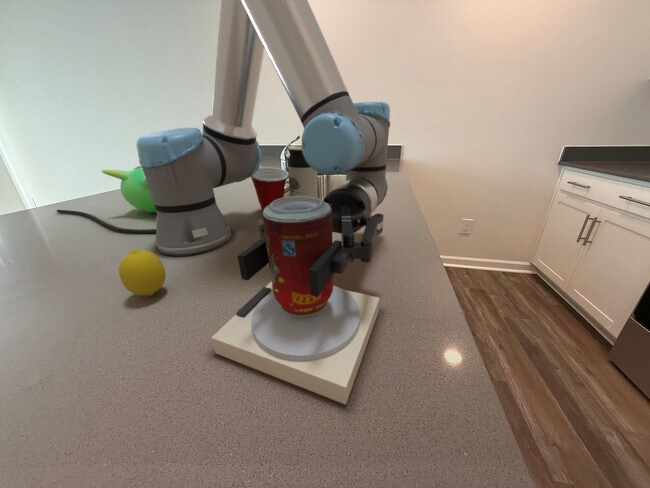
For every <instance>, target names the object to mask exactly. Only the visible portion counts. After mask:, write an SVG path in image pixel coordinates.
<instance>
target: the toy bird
mask: <svg viewBox="0 0 650 488" xmlns="http://www.w3.org/2000/svg"><path fill="white" fill-rule="evenodd" d="M101 173H102V174H105V175H107V176H110V177H112V178H115V179H119V180H121V181H120V187H119V188H120V192H121V195H122V197H123V198H124V199H125V201H126V202H127V203H128V204H129V205H131V206H132V207H134V208H136V209H137V210H140V211H142V212H143V211H144V212H148V213H157V212H156V208H155V205H154V202H153V199H152V196H151V193H150V190H149V187H148V184H147V181H146V177H145V174H144V171H143V168H142V166H141V165H139V166H136V167H134V168H131V169H130V170H121V169H102V170H101Z"/></svg>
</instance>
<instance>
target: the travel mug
mask: <svg viewBox="0 0 650 488" xmlns="http://www.w3.org/2000/svg"><path fill="white" fill-rule="evenodd" d="M287 149H288V151H289V156H288V159H287V168H288V174H289V176H288V185H289V196H311V197H316V198H319V195H318V194H319V193H318V191H319V189H318V187H319V186H318V172H317V171H315V170H314V169H313V168H311V167H310V166H309V164H308V163H307V162H306V160H305V158H304V156H303V153H302V145H291V146H290V145H289V146H288V147H287Z"/></svg>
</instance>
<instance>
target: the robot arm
mask: <svg viewBox="0 0 650 488" xmlns="http://www.w3.org/2000/svg"><path fill="white" fill-rule="evenodd" d="M265 53H267V56H268V58H269V60H270V62H271V63H272V66H273V67H274V70H275V72H276V74H277V75H278V78H279V80H280V82H281V84H282V86H283V87H284V90H285V92H286V94H287V96H288V98H289V100H290V102H291V104H292V106H293V108H294V111H295V112H296V114H297V116H298V118H299V120H300V123H301V125H302V127H303V132H302V134H301V146H302V153H303V156H304V158H305V160H306V162H307V163H308V164H309V166H310V167H311V168H313V169H314V170H315V171H317V173H318V174H321V175H325V176H333V175H334V176H335V175H338V174H343V173H345V182H343V183H341V184H339V185H338V186H337V187H336V188H334V189H333V190H331V191H329V192H328V193H327V194H326V195H325V197H324V199H323V200H322V201H324V202H326V203H327V204H329V206H330V207H331V209H332V233H336V234H340V237H341V240H337V239H335V240H334V241H332V244H331V246H330V247H329V248H328V249H327V250H326V251H325V252H324V253H323V254H322V256H321V257H320V258H319V259H318V260H317V261H316V262H315V263H314V265H313V266H312V267H311V268H310V269H309V279H310V294H311V295H312V296H316V297H318V296H319V295H320V293H321V292H322V291H323V289H324V288H325V286H326V285H327V284H328V282H329V281H330V279H331V278H332V276H333V277H334V275H335V274H338V275H341V274H344V273H345V271H346V270H347V268H348V267H349V265H350V264H351V263H353V262H354V261H355V260H360V261H359V262H361V263H364V264H367V263H370V262H371V261H372V258H373V254H374V250H375V246H376V241H377V237H378V236H379V235H381V234H382V233H383V227H384V217H385V216H384V214H383V213H375V214H373V213H374V212H375V211H376V210H377V208H378V206H380V205H381V204H382V203H383V201H384V200H385V198H386V196H387V192H388V186H389V185H388V180H387V178H386V175H387V156H388V146H389V134H390V127H391V120H390V119H391V118H390V115H391V113H390V112H391V108H390V105H389V103H387V102H385V101H361V102H360V101H359V102H353V99H352V98H351V96H350V93H349V90H348V88H347V85H346V83H345V81H344V79H343V77H342V75H341V72H340V69H339V68H338V65H337V63H336V60H335V59H334V57H333V54H332V52H331V50H330V47H329V45H328V43H327V40H326V38H325V36H324V33H323V32H322V29H321V27H320V25H319V22H318V20H317V18H316V15H315V14H314V11H313V9H312V7H311V5H310V3H309V0H220V12H219V24H218V35H217V46H216V58H215V68H214V69H215V71H214V80H213V81H214V82H213V93H212V104H211V105H212V106H211V113H210V114H209V115H207V116H206V117H204V118H203V121H202V132H201V129H199V128H198V127H180V128H173V129H166V130H159V131H154V132H149V133H146V134H142V135H141V136H140V137H139V138H137V140H136V143H135V147H136V151H137V155H138V162H139V166H142V168H143V171H144V174H145V177H146V181H147V184H148V187H149V190H150V193H151V196H152V199H153V202H154V205H155V208H156V212H155V213H156V228H148V229H135V228H123V227H118V226H115V225H112V224H110V223H108V222H106V221H104V220H102V219H101V218H98V217H97V216H95V215H94V214H93V215H92V214H90V213H87V212H83V211H78V210H69V209H57V210H56V212H57V213H59V214H70V215H72V214H73V215H79V216H84V217H87V218H90V219H92V220H93V221H95V222H97V223H98V224H100V225H102V226H104V227H106V228H108V229H111V230H113V231H116V232H120V233H126V234H127V233H128V234H156V235H155V245H156V247H157V249H158V251H159V252H160V253H161V254H163V255H168V256H175V257H179V256H181V257H183V256H192V255H197V254H203V253H206V252H209V251H211V250H215V249H217V248H220V247H221V246H223V245H225V244H226V243H227V242H228V241H229V240H230V239H231V237H232V232H231V227H230V225H229V223H228V222H227V221H226V219H225V217H224V214H223V213H222V212H221V209H220V208H219V207H218V204H217V201H216V196H215V191H214V189H216V188H219V187H224V186H227V185H230V184H234V183H240V182H244V181H246V180H247V179H249V178H251V176H253V175H254V174H255V173H256V172H257V171H258V169H259V168H261V164H262V157H263V155H262V149H261V148H260V143H259V141H258V139H257V136H258V134H257V132H256V129H255V128H254V127H253V125H252V124H253V118H254V114H255V108H256V107H255V106H256V103H257V101H256V100H257V96H258V91H259V90H258V89H259V84H260V78H261V73H262V67H263V60H264V55H265ZM362 228H364V231H363V234H362V236H361V239H360V242H355V233H358V231H359V232H360V230H361V229H362ZM258 229H259V235H260V238H259V239H258V240H256V241H255V242H253V243H252V244H251V246H249V247H248V248H246V249H245V250H243V251H241V252H240V253H238V254H237V255H236V256H237V260H238V267H239V271H240V276H241V280H243V281H250V279H252V278H253V277H254V276H255V275H256V274H257V273H259V272H260V271H261V270H262V269H264V268H266V266H268V265H269V259H268V253H267V245H266V238H265V232H264V224H263V223H262V224H260V225H259V227H258Z"/></svg>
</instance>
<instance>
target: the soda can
mask: <svg viewBox="0 0 650 488" xmlns="http://www.w3.org/2000/svg"><path fill="white" fill-rule="evenodd" d="M261 213H262V214H261V215H262V224H264V232H265V238H266V245H267V253H268V259H269V263H268V265H269V272H270V280H271V281H272V288H273V294H274V297H275V299H276V300H277V301H278V303H279V304H280V305H281V307H282V309H283V310H284V311H285V312H286V313H288V314H290V315H293V316H302V317H305V316H311V315H314V314H316V313H318V312H320V311H322V310H323V309H324V308H325V307H326V305H327V302H328V299H329V298H330V296H331V294H332V292H333V285H334V275H333V276H332V278H331V279H330V281H329V282H328V284H327V285H326V286H325V288H324V289H323V291H322V292H321V293H320V295H319V296H318V297H316V296H312V295H311V294H310V279H309V269H310V268H311V267H312V266H313V265H314V263H315V262H316V261H317V260H318V259H319V258H320V257H321V256H322V254H323V253H324V252H325V251H326V250H327V249H328V248H329V247H330V246H331V244H332V243H333V232H332V209H331V207H330V206H329V204H327V203H326V202H324V201H323V200H322V199H321V198H319V197H318V198H316V197H311V196H290V195H289V196H284V197H283V198H279V199H277V200H274V201H273V202H272V203H271V204H270V205H268V206H267V207H266V208H265V209H264V210H263V212H261Z"/></svg>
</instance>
